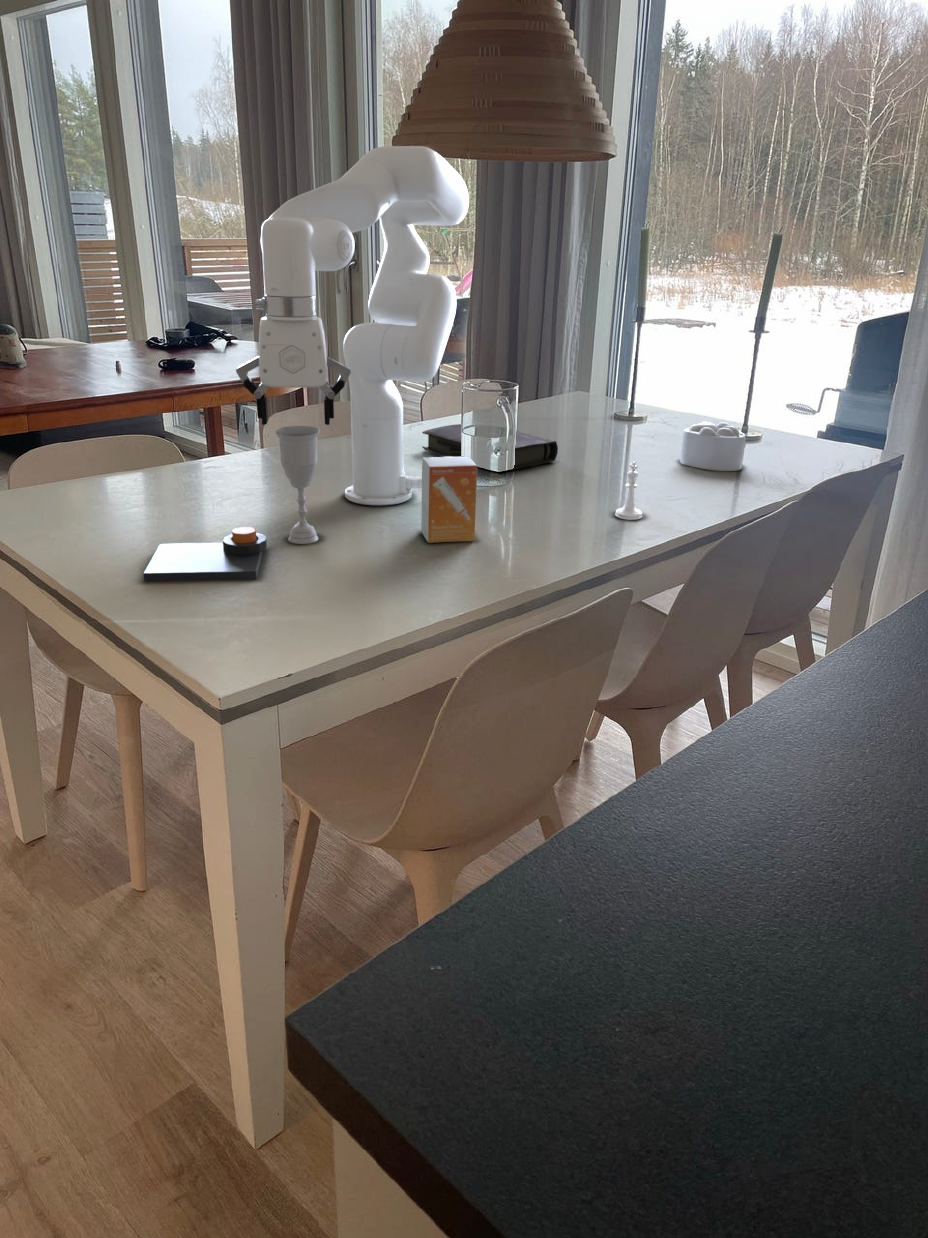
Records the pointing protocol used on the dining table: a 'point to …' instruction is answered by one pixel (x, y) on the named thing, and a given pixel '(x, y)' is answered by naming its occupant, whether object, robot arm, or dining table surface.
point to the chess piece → (630, 498)
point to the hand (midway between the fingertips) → (296, 423)
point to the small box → (449, 499)
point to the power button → (244, 535)
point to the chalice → (299, 472)
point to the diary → (526, 447)
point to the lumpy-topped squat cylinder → (713, 447)
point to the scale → (206, 561)
